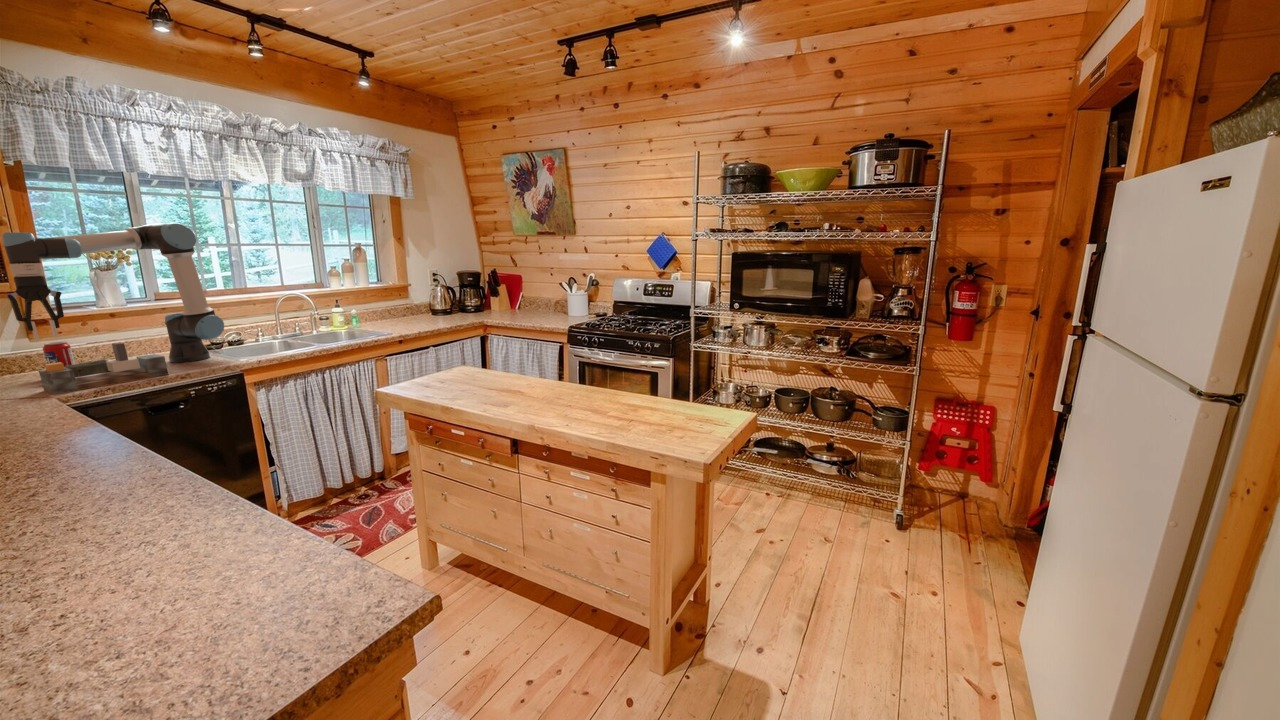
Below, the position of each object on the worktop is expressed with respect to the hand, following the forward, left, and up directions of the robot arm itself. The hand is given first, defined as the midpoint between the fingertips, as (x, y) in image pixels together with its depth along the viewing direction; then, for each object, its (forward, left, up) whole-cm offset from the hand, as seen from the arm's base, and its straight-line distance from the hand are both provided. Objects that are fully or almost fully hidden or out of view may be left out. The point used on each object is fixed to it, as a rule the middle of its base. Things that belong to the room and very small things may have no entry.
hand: (46, 337), depth 191 cm
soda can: (-8, -33, -21) cm, 40 cm away
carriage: (-19, 0, -16) cm, 25 cm away
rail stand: (-14, 0, -21) cm, 25 cm away
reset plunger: (0, 0, -15) cm, 15 cm away
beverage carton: (-11, -22, -21) cm, 32 cm away
